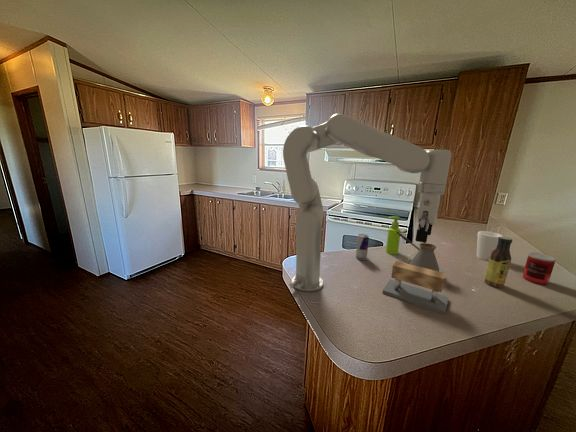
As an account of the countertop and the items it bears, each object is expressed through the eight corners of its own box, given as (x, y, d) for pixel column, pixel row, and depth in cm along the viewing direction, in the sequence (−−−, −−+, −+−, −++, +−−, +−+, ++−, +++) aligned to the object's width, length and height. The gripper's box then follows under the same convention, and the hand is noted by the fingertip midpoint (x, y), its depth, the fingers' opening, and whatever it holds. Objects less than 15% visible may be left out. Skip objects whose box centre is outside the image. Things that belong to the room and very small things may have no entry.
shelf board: (391, 277, 87) (392, 265, 86) (394, 272, 91) (396, 260, 90) (441, 292, 78) (444, 278, 77) (442, 286, 82) (445, 273, 81)
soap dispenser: (382, 250, 128) (386, 215, 124) (394, 250, 129) (398, 215, 124) (387, 254, 123) (391, 218, 118) (399, 254, 123) (404, 218, 118)
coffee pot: (443, 274, 102) (449, 242, 99) (429, 281, 97) (435, 247, 93) (399, 257, 120) (403, 229, 116) (384, 262, 114) (388, 233, 110)
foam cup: (498, 263, 114) (504, 238, 110) (474, 259, 118) (480, 235, 115) (493, 256, 122) (499, 232, 118) (471, 252, 126) (476, 229, 123)
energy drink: (367, 260, 116) (369, 237, 113) (356, 259, 117) (358, 236, 114) (366, 256, 121) (368, 234, 118) (355, 255, 122) (357, 233, 119)
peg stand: (445, 314, 76) (448, 298, 75) (382, 292, 88) (384, 278, 87) (447, 299, 84) (450, 285, 83) (389, 282, 96) (391, 268, 94)
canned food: (540, 277, 101) (547, 253, 98) (553, 286, 93) (561, 261, 91) (517, 274, 103) (524, 251, 100) (529, 283, 96) (536, 258, 93)
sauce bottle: (499, 289, 91) (511, 242, 86) (480, 282, 96) (491, 236, 91) (507, 285, 94) (519, 239, 89) (488, 278, 99) (499, 234, 94)
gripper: (442, 192, 67) (432, 247, 72) (447, 187, 81) (438, 234, 85) (413, 190, 72) (405, 242, 76) (422, 185, 85) (415, 230, 89)
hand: (423, 237), depth 80 cm, fingers open, 9 cm apart
